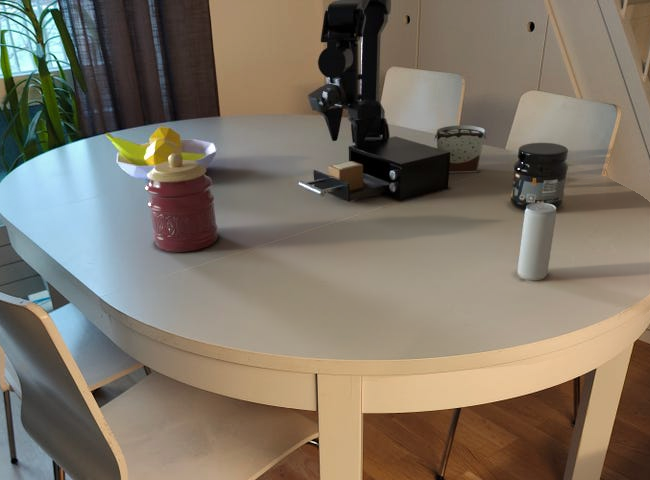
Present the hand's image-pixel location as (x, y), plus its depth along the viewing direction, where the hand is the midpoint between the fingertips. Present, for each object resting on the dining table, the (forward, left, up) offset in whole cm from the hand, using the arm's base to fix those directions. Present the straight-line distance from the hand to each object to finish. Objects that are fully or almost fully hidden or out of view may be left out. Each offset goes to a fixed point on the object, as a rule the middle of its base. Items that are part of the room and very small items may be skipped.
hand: (346, 144), depth 152 cm
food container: (+1, +32, -12) cm, 34 cm away
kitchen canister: (+3, -42, -12) cm, 43 cm away
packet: (0, 0, -10) cm, 10 cm away
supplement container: (+32, +26, -12) cm, 43 cm away
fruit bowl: (-46, -27, -12) cm, 54 cm away
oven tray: (0, -1, -10) cm, 10 cm away
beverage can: (+56, -1, -12) cm, 57 cm away
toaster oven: (+2, +13, -12) cm, 18 cm away
